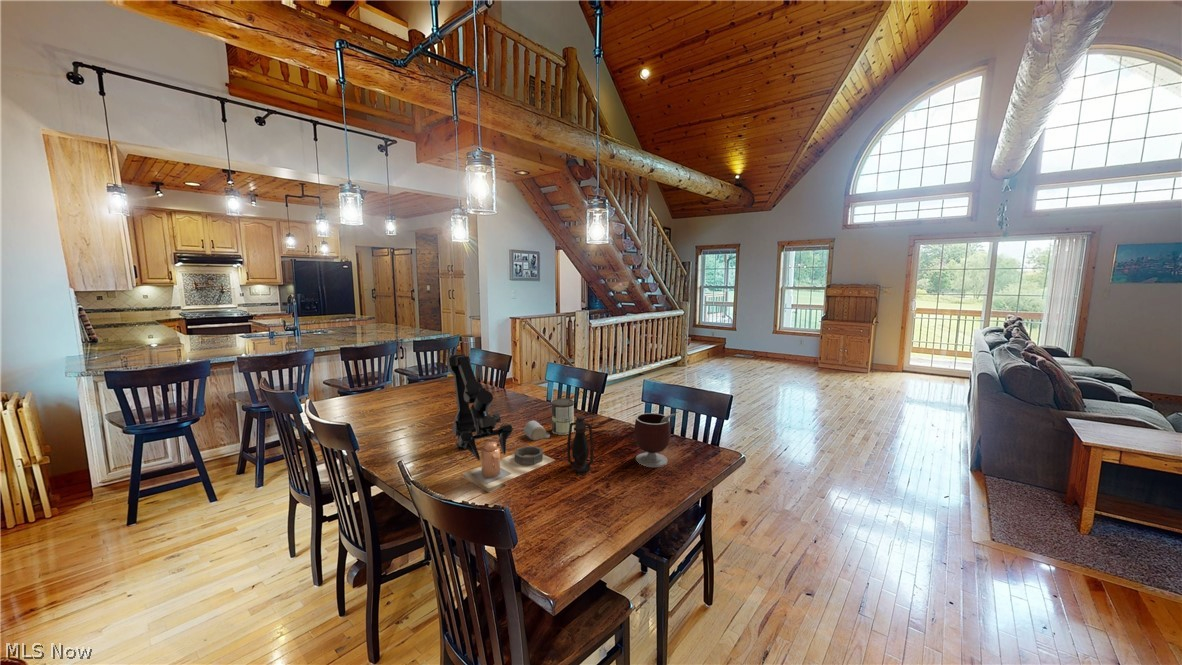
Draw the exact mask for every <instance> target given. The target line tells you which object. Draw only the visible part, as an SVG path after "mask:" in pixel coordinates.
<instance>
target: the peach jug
mask: <svg viewBox="0 0 1182 665" xmlns="http://www.w3.org/2000/svg"><path fill="white" fill-rule="evenodd" d="M480 452H481V453H480V454H481V455H480V456H481V458H480V460H481V466H482V476H483V477H486V478H492V477H496V476H498V475H500V459H501V448H500V447H499V446H498V443H497V441H486V442H485V443H483V447H482V448H481V450H480Z"/></svg>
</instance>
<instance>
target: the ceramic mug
mask: <svg viewBox="0 0 1182 665" xmlns="http://www.w3.org/2000/svg"><path fill="white" fill-rule="evenodd" d="M523 433H524V435H525V437H527V438H529V439H530V440H531V441H537V440H542V439H550V437H551V434H550V433H549V432H548V431H546V429H545V427H544V426H543V425H541V424H540V423H539V421H536V420H530V421H528V422H526V424H525V425H524V427H523Z"/></svg>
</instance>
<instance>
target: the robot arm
mask: <svg viewBox="0 0 1182 665" xmlns="http://www.w3.org/2000/svg"><path fill="white" fill-rule="evenodd" d="M445 362H446V367H448V371H449V373H451V375H452V376H453V383H454V391H455V398H456V404H457V412H456V414H455V416H454V422H453V425H452V427H451V428H452V434H454V435H455V436H457V443H455V446H456V449H457V450H458V451H461V450H467V451H469V452H470V453H471V454H472V455H473V456H474V458H475V459H476V460H477V461H480V460H481V458H480V453H479V450H478V447H477V445H476V440H481V439H485V438H489V437H495V436H496V437H497V436H498V437H499V439H498V441H499V444H500V447H501V448H500V450H501V451H502V452H501V453H502V454H503V456H504V455H506V451H507V449H506V448H507V446H506V445H507V439H508V438H509V437H511V434H512V433H513V431H514V428H513V425H511V424H510V423H507V424H502V425H500V426H499V428H497V429H495V428H496V426H497V424H498V423H501V419H502V418H501V416H500V413H493V415H492V416H491V415H490V414H489V411H488V410H489V409H490V406H491V404H492V402H493V400H494V396H493V393H492V392H490V391H489V390H486V388H485V387H484V386H483V385H482V383H481V382H479V381H477V378H476V376H475V373H474V370H473V368H472V365H471V360H470V355H466V354H465V353H457V354H456V353H455V354H449V355H448V357H446V360H445ZM469 404H472V405H471V407H470V406H469Z"/></svg>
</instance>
